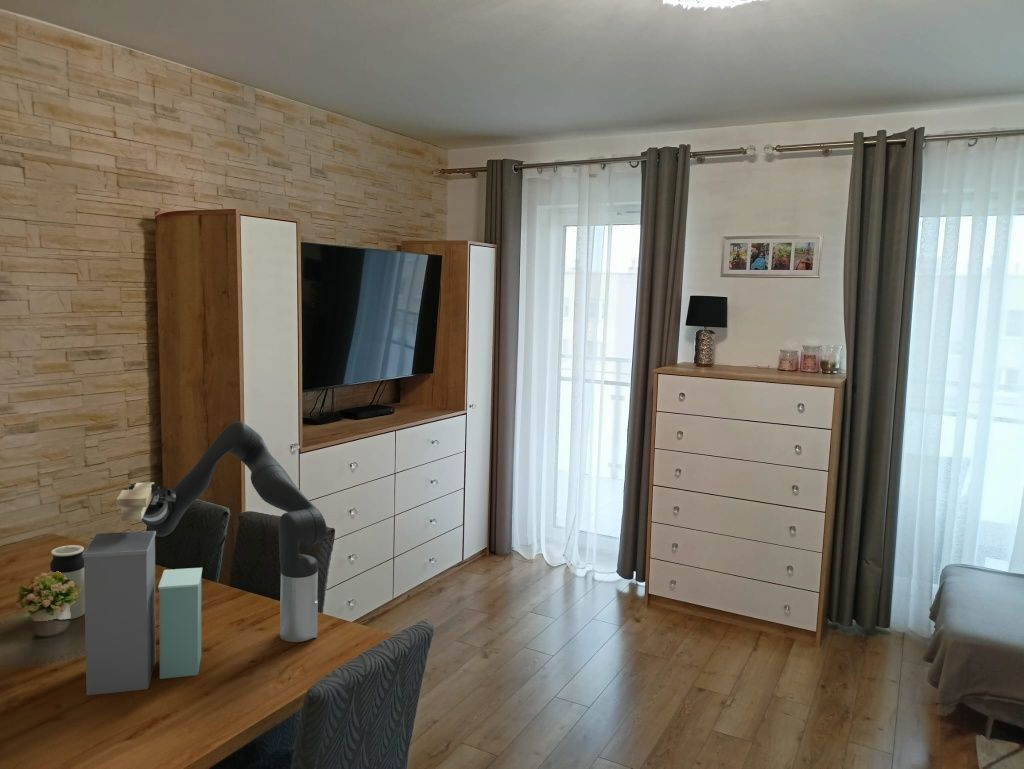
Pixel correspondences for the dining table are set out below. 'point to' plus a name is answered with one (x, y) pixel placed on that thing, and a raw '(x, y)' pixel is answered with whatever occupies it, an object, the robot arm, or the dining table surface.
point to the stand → (120, 611)
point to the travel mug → (71, 572)
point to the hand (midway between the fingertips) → (142, 488)
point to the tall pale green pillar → (180, 622)
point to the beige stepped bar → (135, 501)
